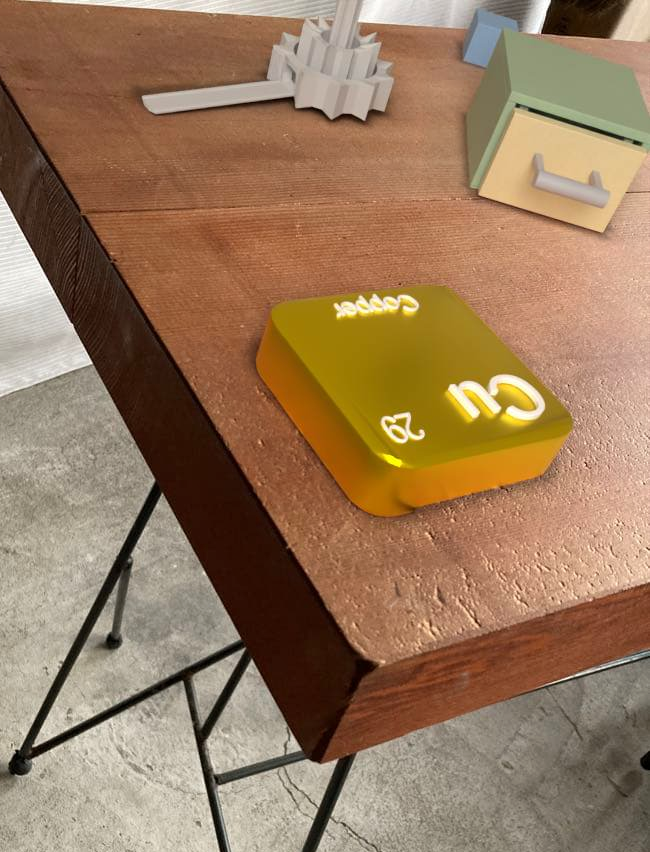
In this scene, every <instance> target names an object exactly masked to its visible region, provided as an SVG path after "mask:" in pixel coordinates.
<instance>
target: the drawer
mask: <svg viewBox="0 0 650 852" xmlns="http://www.w3.org/2000/svg"><path fill="white" fill-rule="evenodd" d="M633 141H634V140H633V139H629V138H626V137H623V136H620V135H617V134H613V133H610V132H607V131H604V130H601V129H597V128H594V127H591V126H588V125H585V124H581V123H578V122H575V121H572V120H569V119H566V118H562V117H559V116H556V115H553V114H550V113H546V112H543V111H540V110H537V109H534V108H530V107H527V106H524V105H521V104H518V103H516V106H515V107H514V109H513V111H512V113H511V116H510V118H509V120H508V122H507V125H506V127H505V129H504V131H503V133H502V136H501V138H500V140H499V142H498V145H497V147H496V149H495V151H494V154H493V156H492V158H491V160H490V163H489V165H488V167H487V169H486V172H485V174H484V176H483V178H482V181H481V183H480V185H479V187H478V189H477V195H478V196H480V197H483V198H486V199H489V200H492V201H496V202H499V203H503V204H505V205H509V206H512V207H516V208H519V209H522V210H526V211H529V212H532V213H535V214H539V215H542V216H546V217H548V218H552V219H555V220H558V221H562V222H565V223H569V224H572V225H575V226H578V227H580V228H585V229H588V230H591V231H594V232H598V233H601V234H603V233H604V232H605V230H606V228H607V227H608V225H609V223H610V221H611V220H612V218H613V216H614V214H615V212H616V210H617V208H618V207H619V205H620V204H621V202H622V200H623V198H624V196H626V192H627V191H628V190H629V188H630V187H631V184H632V182H633V180H635V177H636V175H637V174H638V172H639V170H640V169H641V166H642V165H643V163H644V162H645V160H646V158H647V156H648V154H647V152H646V149H645V148H644V147H640V146H637V145H634V144H632V143H633Z"/></svg>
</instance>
